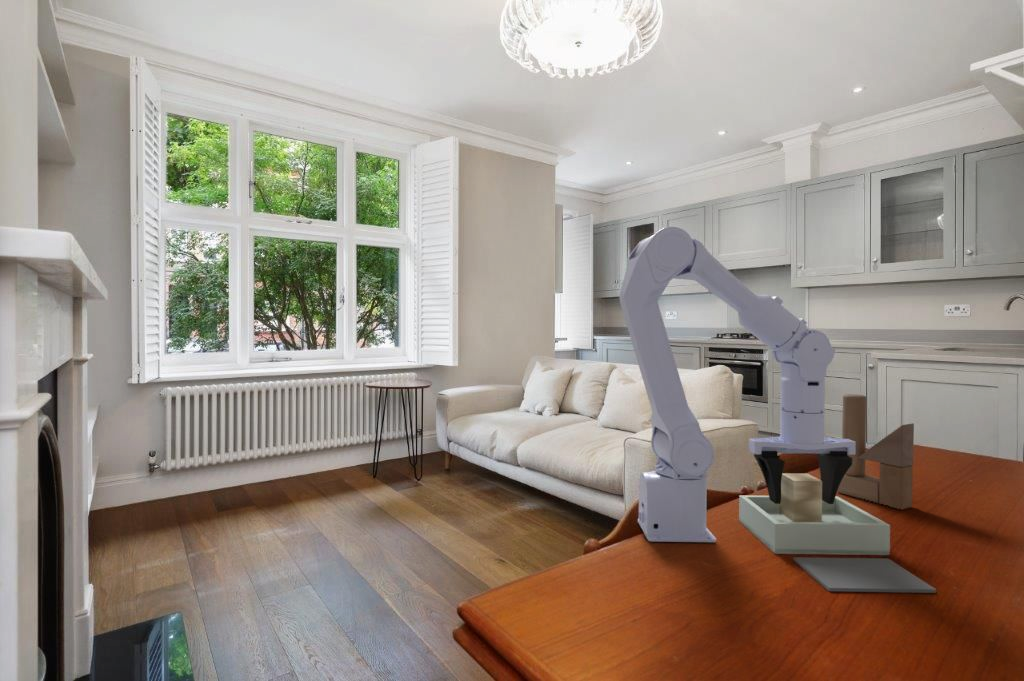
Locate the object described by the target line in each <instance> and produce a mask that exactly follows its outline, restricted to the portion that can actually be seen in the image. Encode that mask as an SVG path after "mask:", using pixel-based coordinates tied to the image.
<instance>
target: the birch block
mask: <svg viewBox="0 0 1024 681" xmlns="http://www.w3.org/2000/svg"><path fill="white" fill-rule="evenodd" d="M780 513H782V514H783V515H785V516H786V517H787V518H789V519H790V520H791V521H793V522H822V481H821V479H819V478H817V477H815V476H813V475H812V474H809V473H802V472H801V473H790V472H789V473H788V472H785V473H783V472H782V479H781V503H780Z"/></svg>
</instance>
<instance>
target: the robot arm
mask: <svg viewBox="0 0 1024 681" xmlns="http://www.w3.org/2000/svg"><path fill="white" fill-rule="evenodd" d="M673 279H676V280H684V281H685V280H687V281H695V282H696V283H698V284H699V285H701V286H703V288H705V289H706V290H708V291H709V292H710V293H712V294H713V295H715V296H716V297H717V298H718V299H720V300H721V301H723V302H724V303H725V304H726V305H728V306H729V307H731V308H733V310H735V311H736V312H737V314H738V316H737V317H738V323H739V325H740V326H741V327H742V328H744V329H745V330H747V331H748V332H749V333H750V334H751V335H752V336H754V337H755V338H756V339H758V340H759V341H760V342H761V343H763V344H764V345H765V346H766V347H767V348H769V349H770V350H771V353H772V357H773V358H774V360H775V361H776V362H777V363H780V382H779V383H780V387H779V388H780V393H779V394H780V396H779V398H780V399H779V400H780V402H779V405H780V409H779V413H780V414H779V417H780V418H779V425H780V426H779V427H780V428H779V436H771V437H762V438H761V437H760V438H749V440H748V443H749V444H748V449H749V450H748V451H749V452H750V453H752V454H753V457H754V459H755V461H756V463H757V464H758V466H759V468H760V470H761V472H762V475H763V478H764V481H765V483H766V484H765V485H766V488H767V492H768V496H769V499H770V500H771V501H772V502H774V503H775V504H780V503H781V479H782V473H783V472H784V468H785V467H784V466H785V463H786V461H784V460H783V459H782V458H780V455H778V454H816V455H817V459H818V465H819V473H820V480H821V481H822V500H823V501H825V502H826V503H828V504H833V503H834V500H835V496H837V493H838V492H837V490H838V487H839V485H840V483H841V480H842V479H843V477H844V475H845V473H846V472H847V471H848V469H849V468H850V467H851V465H852V458H851V457H849V456H847V454H849V455H855V443H856V442H855V441H852V440H849V439H842V438H834V437H832V438H831V437H825V398H826V397H825V396H826V395H825V391H826V388H825V386H826V385H825V382H826V381H825V380H826V377H827V370H828V367H829V365H830V364H831V363H832V361H833V359H834V358H835V355H836V354H835V353H836V349H835V348H833V347H832V343H831V342H830V339H829V338H828V336H827V334H825V333H824V332H822V331H819V330H817V329H809V328H808V325H807V324H808V322H807V321H806V320H805V319H804V318H798V317H797V316H795V315H794V313H792V312H791V311H790V310H788V308H786V307H784V306H783V305H782V304H783V302H784V301H783V299H781V298H780V297H779V296H777V295H776V296H772V295H770V294H758V295H756V294H754V292H753V291H752V290H750V289H749V288H748V287H747V286H746V284H744V283H743V282H741V280H740V279H738V278H737V276H735V275H734V274H733V273H732V272H731V271H729V270H728V268H726V267H725V266H724V265H723V264H722V263H721V262H720V261H718V260H717V259H716V257H714V255H712V254H711V253H710V252H709V250H707V248H706V247H705V245H704V244H703V243H702V242H701V241H700V240H698V239H695V238H694V237H693V238H692V237H691V235H690V234H689V233H688V232H687V231H686V230H684V229H682V228H680V227H677V226H666V227H664V228H661V229H659V230H658V231H656V232H655V233H654V234H653V235H651V236H649V237H646V238H644V239H642V240H641V241H639V243H637V244H636V246H635V247H634V249H633V250H632V251H631V253H630V254H629V256H628V257H627V259H626V269H625V273H624V276H623V279H622V280H623V281H622V284H621V287H620V291H619V294H618V295H619V298H618V299H619V303H620V306H621V310H622V314H623V317H624V321H625V324H626V327H627V330H628V334H629V337H630V338H629V339H630V340H631V344H632V347H633V351H634V354H635V357H636V358H635V359H636V361H637V364H638V368H639V371H640V374H641V378H642V381H643V385H644V387H645V391H646V394H647V397H648V401H649V405H650V408H651V415H650V418H649V419H650V424H651V428H652V432H651V438H650V445H651V448H652V449H651V450H652V452H653V453H654V455H655V456H656V457H657V462H656V464H655V468H654V469H655V470H652V471H644V472H640V474H639V478H638V518H637V523H638V524H639V526H640V528H641V529H642V532H643V534H644V536H645V537H646V539H647V540H648V542H653V543H654V542H657V543H658V542H662V543H663V542H668V543H672V542H673V543H675V542H676V543H716V542H717V538H716V537H715V535H714V534H713V533H712V532H711V531H710V530H709V528H708V527H707V502H708V501H707V490H708V489H707V488H708V487H707V486H708V485H707V482H708V481H707V479H708V476H707V474H708V473H707V472H708V471H709V470H710V469H711V467H712V465H713V464H714V460H715V450H714V446H713V444H712V442H711V441H710V440H709V438H708V437H706V436H705V434H704V433H703V432H702V429H701V426H700V422H699V421H698V419H697V418H696V416H695V414H694V413H693V412H692V410H691V408H690V407H689V404H688V400H687V397H686V394H685V390H684V388H683V383H682V380H681V376H680V374H679V371H678V368H677V363H676V361H675V357H674V354H673V351H672V350H673V349H672V347H671V343H670V340H669V335H668V334H667V333H668V332H667V329H666V327H665V323H664V319H663V316H662V312H661V308H660V306H659V299H660V298H661V296H662V294H663V292H664V291H665V290H666V289H667V287H668V286H669V284H670V282H671V281H672V280H673Z"/></svg>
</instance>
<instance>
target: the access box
mask: <svg viewBox="0 0 1024 681" xmlns="http://www.w3.org/2000/svg"><path fill="white" fill-rule="evenodd" d="M738 496H739V498H738V506H739V507H738V521H739V522H740V523H741V524H742V525H743V526H744V527H745V528H746V529H748V531H749V532H750V533H752V535H754V536H755V538H757V539H758V540H759V541H760V542H762V544H764V545H765V546H766V547H767V548H768V549H769V550H770V551H771V552H772V553H773V554H775V555H776V554H778V555H780V554H782V555H783V554H785V555H842V556H843V555H846V556H847V555H851V556H852V555H853V556H854V555H856V556H860V555H861V556H862V555H864V556H890V552H891V550H890V549H891V544H890V543H891V524H888V523H887V522H885V521H884V520H881V519H880V518H878V517H876V516H874V515H872V514H871V513H869V512H867V511H865V510H863V509H861V508H859V507H858V506H856V505H854V504H852V503H850V502H848V501H847V500H845V499H843V498H842V497H840V496H837V495H836V496H835V500H834V503H833V504H828V503H826V502H825V501H823V500H822V522H793V521H791V520H790V519H789V518H787V517H786V516H785V515H783V514H782V513H780V504H775V503H774V502H772V501H771V500H770V499H769V495H753V494H751V495H747V494H746V495H744V494H743V495H741V494H740V495H738Z"/></svg>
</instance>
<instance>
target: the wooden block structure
mask: <svg viewBox="0 0 1024 681" xmlns="http://www.w3.org/2000/svg"><path fill="white" fill-rule="evenodd" d="M841 424H842V425H841V426H842V427H841V428H842V432H841V433H842V434H841V436H842V437H841V439H849V440H852V441H855V442H856V443H855V455H849V454H847V456H849V457H851V458H852V465H851V467H850V468H849V469H848V471H847V472H846V473H845V475H844V477H843V479H842V480H841V483H840V485H839V487H838V490H837V493H839V494H842V495H846V496H849V497H853V498H857V499H860V498H861V499H862V500H864V499H865V500H864V501H868V500H869V501H868V502H871V501H873V503H875V502H876V503H875V504H879V505H881V504H884V505H888V506H890V507H889V508H892V507H893V509H895V508H897V509H896V510H899V509H901V510H902V511H903V510H905V509H906V510H907V509H909V508H912V507H913V488H914V487H913V482H914V480H913V478H914V477H913V474H914V466H913V465H914V444H915V443H914V442H915V441H914V437H915V436H914V435H915V434H914V429H915V427H914V426H915V424H914V423H908V424H906V423H905V424H901V425H900V426H899V427H897V428H896V429H894V430H893V431H891V432H890V433H889V434H887V436H885V437H883V438H881V440H880V441H878V442H877V443H875V444H874V445H873V446H871V447H870V448H868V449H867V450H866V448H867V445H866V444H867V443H866V442H867V438H866V437H867V436H866V435H867V395H863V394H854V393H852V394H851V393H846V394H843V396H842V423H841ZM866 461H870V462H875V463H879V478H878V477H877V476H876V477H875V476H871V475H867V474H866ZM861 499H860V500H861ZM884 505H883V506H884ZM888 506H887V507H888ZM901 510H900V511H901Z"/></svg>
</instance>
